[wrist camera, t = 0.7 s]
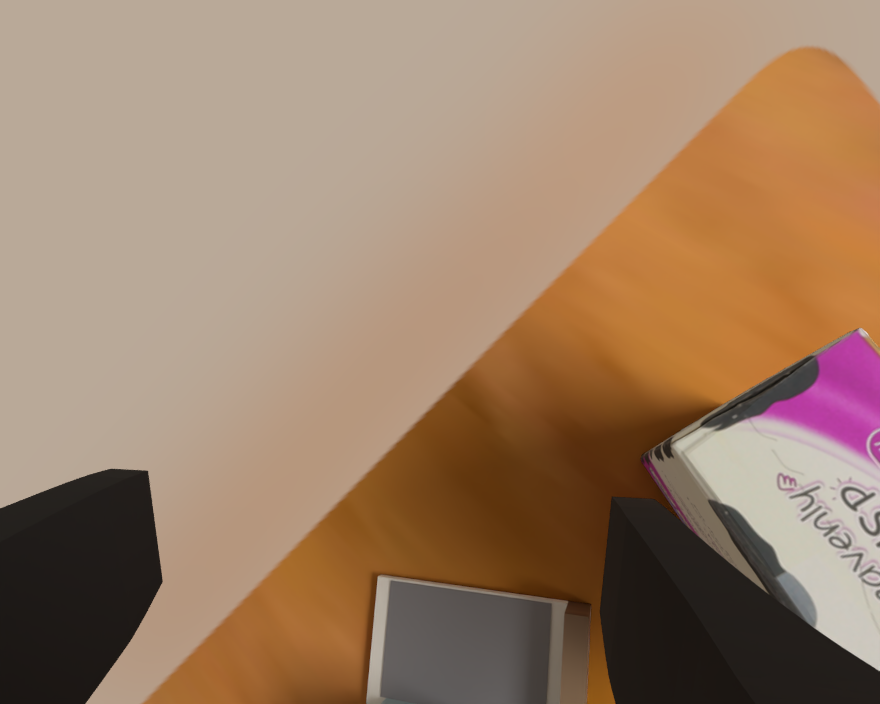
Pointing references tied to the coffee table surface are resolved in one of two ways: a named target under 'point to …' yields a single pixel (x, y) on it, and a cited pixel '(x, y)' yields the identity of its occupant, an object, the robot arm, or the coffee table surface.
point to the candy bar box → (793, 488)
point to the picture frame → (476, 646)
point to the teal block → (394, 701)
